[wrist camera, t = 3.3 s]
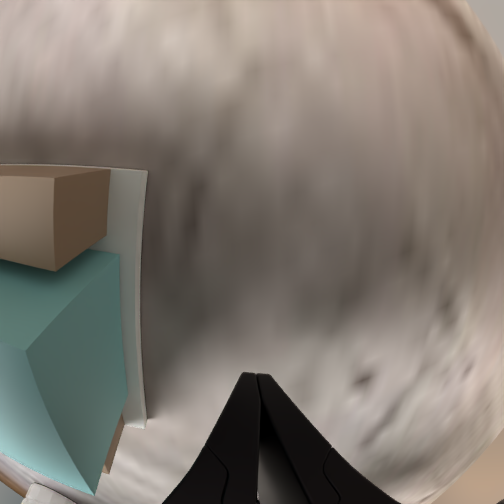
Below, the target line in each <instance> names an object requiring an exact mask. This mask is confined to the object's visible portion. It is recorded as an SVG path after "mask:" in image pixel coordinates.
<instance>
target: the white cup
mask: <svg viewBox="0 0 504 504" xmlns="http://www.w3.org/2000/svg"><path fill="white" fill-rule="evenodd" d="M21 504H76V503H74V502H73V501H71V500H70V499H68V498H66V497H65V496H63V495H61V494H59V493H57V492H56V491H53V490H51V489H49V488H47V487H45V486H43V485H40V484H36V483H33V484H31V486H30V488H29V490H28V492H27V494H26V498H24V499H23V501H22V503H21Z"/></svg>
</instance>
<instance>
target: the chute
mask: <svg viewBox="0 0 504 504" xmlns="http://www.w3.org/2000/svg"><path fill="white" fill-rule="evenodd" d="M147 176H148V171H145V170H134V169H123V168H110V167H95V166H77V165H52V164H0V258H1V259H4V260H8V261H12V262H16V263H20V264H25V265H29V266H33V267H37V268H42V269H46V270H50V271H55V272H56V271H57V270H59V269H60V268H61V267H63V266H64V265H65V264H67V263H68V262H69V261H71V260H72V259H73V258H75V257H76V256H78V255H79V254H80V253H82V252H83V251H85V250H86V249H91V250H97V251H103V252H109V253H115V254H120V312H121V330H122V343H123V354H124V364H125V373H126V381H127V388H128V396H127V399H126V402H125V404H124V407H123V410H122V413H121V416H120V418H119V421H118V424H117V427H116V430H115V433H114V436H113V439H112V441H111V444H110V447H109V451H108V454H107V457H106V460H105V463H104V466H103V469H102V472H103V473H106V474H109V473H110V470H111V466H112V463H113V459H114V456H115V453H116V450H117V446H118V443H119V440H120V437H121V434H122V431H123V428H124V425H128V426H132V427H136V428H141V429H145V427H146V423H147V414H146V405H145V395H144V384H143V370H142V354H141V328H140V274H141V247H142V230H143V216H144V205H145V194H146V185H147Z"/></svg>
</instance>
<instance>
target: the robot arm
mask: <svg viewBox="0 0 504 504" xmlns="http://www.w3.org/2000/svg"><path fill="white" fill-rule="evenodd" d="M331 447H332V446H331V444H330V443H329V442H328V441H327V440H326V439H325V438H324V437H323V436H322V435H321V433H320V432H319V431H318V430H317V429H316V428H315V427H314V426H313V425H312V423H311V422H310V421H309V420H308V419H307V418H306V417H305V415H304V414H303V413H302V412H301V411H300V410H299V409H298V407H297V406H296V405H295V404H294V403H293V402H292V400H291V399H290V398H289V397H288V396H287V394H286V393H285V392H284V391H283V390H282V389H281V387H280V386H279V385H278V384H277V382H276V381H275V380H274V379H273V378H272V376H271V375H269V374H261V373H257V374H255V373H249V372H243V373H242V374H241V375H240V377H239V379H238V381H237V383H236V385H235V387H234V389H233V391H232V393H231V395H230V397H229V399H228V401H227V403H226V405H225V407H224V409H223V411H222V413H221V415H220V417H219V419H218V421H217V422H216V424H215V426H214V428H213V430H212V432H211V434H210V436H209V438H208V439H207V441H206V443H205V446H204V447H203V448H202V450H201V452H200V454H199V456H198V457H197V459H196V461H195V462H194V464H193V465H192V467H191V469H190V470H189V471H188V473H187V474H186V475H185V477H184V478H183V479H182V481H181V482H180V483H179V484H178V485H177V487H176V488H175V489H174V490H173V491H172V492H171V494H170V495H169V496H168V497H167V498H166V499H165V500H164V502H163V503H162V504H401V503H399V502H397V501H396V500H394V499H393V498H391V497H390V496H389V495H387V494H386V493H385V492H383V491H382V490H381V489H379V488H378V487H377V486H375V485H374V484H373V483H371V482H370V481H369V480H368V479H366V478H365V477H364V476H363V475H361V474H360V473H359V472H358V471H357V470H356V469H354V468H353V467H352V466H351V465H350V464H349V463H348V462H347V461H346V460H345V459H344V458H343V457H342V456H341V455H340V454H339V453H338V452H337V451H336V450H335V449H334V448H333V447H332V448H331ZM257 490H258V494H259V501H260V502H257ZM497 504H504V499H503V500H501V501H500V502H498V503H497Z"/></svg>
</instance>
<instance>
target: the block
mask: <svg viewBox="0 0 504 504" xmlns="http://www.w3.org/2000/svg"><path fill="white" fill-rule="evenodd" d="M127 396H128V388H127V381H126V373H125V364H124V354H123V343H122V330H121V312H120V254H115V253H109V252H103V251H97V250H91V249H86V250H85V251H83V252H82V253H80V254H79V255H78V256H76V257H75V258H73V259H72V260H71V261H69V262H68V263H67V264H65V265H64V266H63V267H61V268H60V269H59V270H57V271H56V272H55V271H50V270H46V269H42V268H37V267H33V266H29V265H25V264H20V263H16V262H12V261H8V260H4V259H1V258H0V452H1V453H3V454H5V455H6V456H8V457H10V458H11V459H13V460H15V461H17V462H19V463H20V464H22V465H24V466H26V467H28V468H30V469H32V470H34V471H36V472H38V473H40V474H42V475H44V476H46V477H48V478H51V479H53V480H55V481H57V482H60V483H62V484H65V485H67V486H69V487H72V488H75V489H77V490H80V491H83V492H85V493H88V494H91V495H94V496H95V493H96V489H97V486H98V482H99V479H100V476H101V473H102V469H103V466H104V463H105V460H106V457H107V454H108V451H109V447H110V444H111V441H112V439H113V436H114V433H115V430H116V427H117V424H118V421H119V418H120V416H121V413H122V410H123V407H124V404H125V402H126V399H127Z"/></svg>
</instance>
